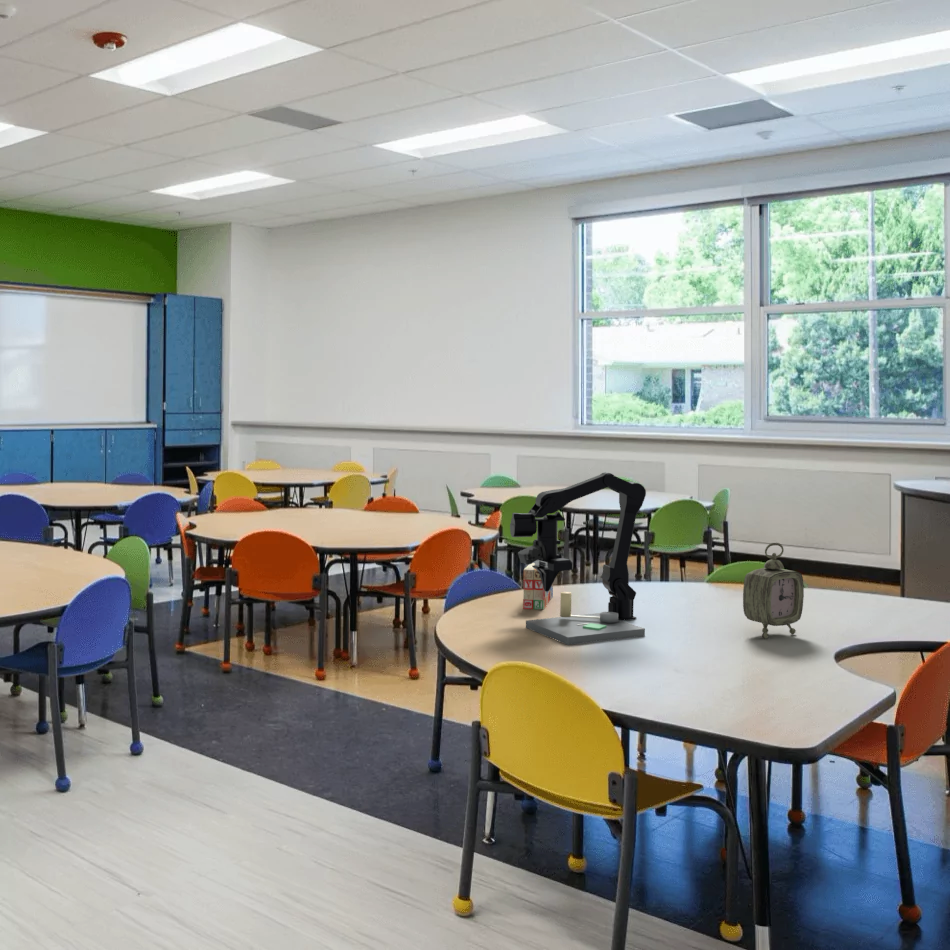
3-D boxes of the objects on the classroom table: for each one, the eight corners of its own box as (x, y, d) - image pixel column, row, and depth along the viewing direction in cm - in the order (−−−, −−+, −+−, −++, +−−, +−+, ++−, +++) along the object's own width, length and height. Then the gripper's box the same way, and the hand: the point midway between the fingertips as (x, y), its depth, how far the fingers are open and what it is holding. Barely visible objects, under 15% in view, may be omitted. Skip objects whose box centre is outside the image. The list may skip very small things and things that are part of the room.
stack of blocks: (533, 596, 328) (534, 558, 327) (553, 597, 327) (553, 558, 326) (522, 609, 307) (523, 568, 306) (543, 610, 306) (544, 569, 305)
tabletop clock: (765, 641, 268) (767, 546, 266) (739, 634, 275) (741, 542, 274) (802, 634, 275) (805, 542, 274) (776, 628, 283) (778, 538, 281)
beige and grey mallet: (619, 619, 282) (619, 594, 282) (617, 623, 277) (617, 597, 277) (561, 616, 286) (562, 591, 286) (558, 619, 281) (559, 594, 281)
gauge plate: (598, 619, 292) (599, 611, 292) (644, 636, 273) (644, 626, 272) (525, 627, 282) (525, 618, 281) (567, 644, 262) (568, 635, 262)
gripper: (506, 534, 293) (506, 587, 294) (539, 542, 277) (538, 599, 278) (540, 532, 298) (539, 585, 299) (574, 540, 281) (573, 596, 283)
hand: (546, 591), depth 290 cm, fingers closed
